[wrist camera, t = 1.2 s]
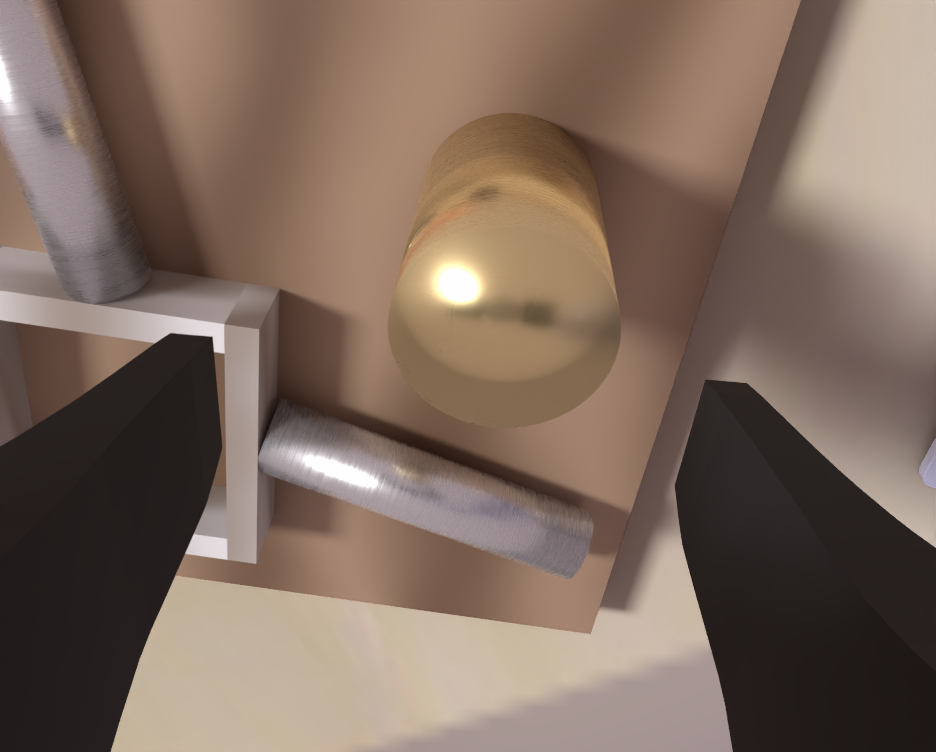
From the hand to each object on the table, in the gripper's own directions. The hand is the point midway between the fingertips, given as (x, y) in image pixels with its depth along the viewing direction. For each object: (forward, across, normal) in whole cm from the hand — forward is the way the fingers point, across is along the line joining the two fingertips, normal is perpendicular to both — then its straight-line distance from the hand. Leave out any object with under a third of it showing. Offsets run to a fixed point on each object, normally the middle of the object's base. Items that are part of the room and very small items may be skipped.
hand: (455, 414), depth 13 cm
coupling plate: (+10, +5, +4) cm, 12 cm away
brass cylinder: (+8, -1, 0) cm, 9 cm away
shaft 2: (+8, 0, +8) cm, 12 cm away
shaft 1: (+9, +9, -1) cm, 13 cm away
